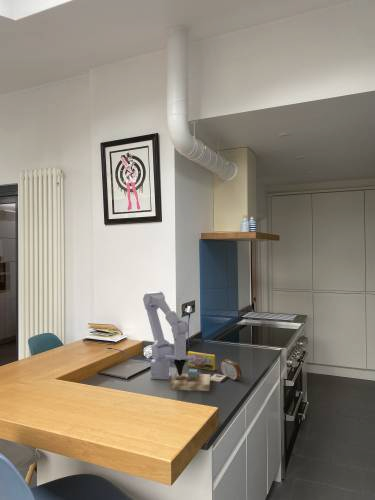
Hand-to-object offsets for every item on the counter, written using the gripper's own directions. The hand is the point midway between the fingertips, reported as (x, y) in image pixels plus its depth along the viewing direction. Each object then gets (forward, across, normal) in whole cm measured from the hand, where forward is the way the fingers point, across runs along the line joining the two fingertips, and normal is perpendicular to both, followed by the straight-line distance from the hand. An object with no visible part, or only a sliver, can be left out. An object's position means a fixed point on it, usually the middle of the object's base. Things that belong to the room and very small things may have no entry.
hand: (180, 375), depth 182 cm
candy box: (+5, +8, +26) cm, 28 cm away
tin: (+5, +24, +12) cm, 28 cm away
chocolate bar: (+5, +19, +14) cm, 25 cm away
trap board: (+5, +5, 0) cm, 7 cm away
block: (+2, +6, 0) cm, 6 cm away
